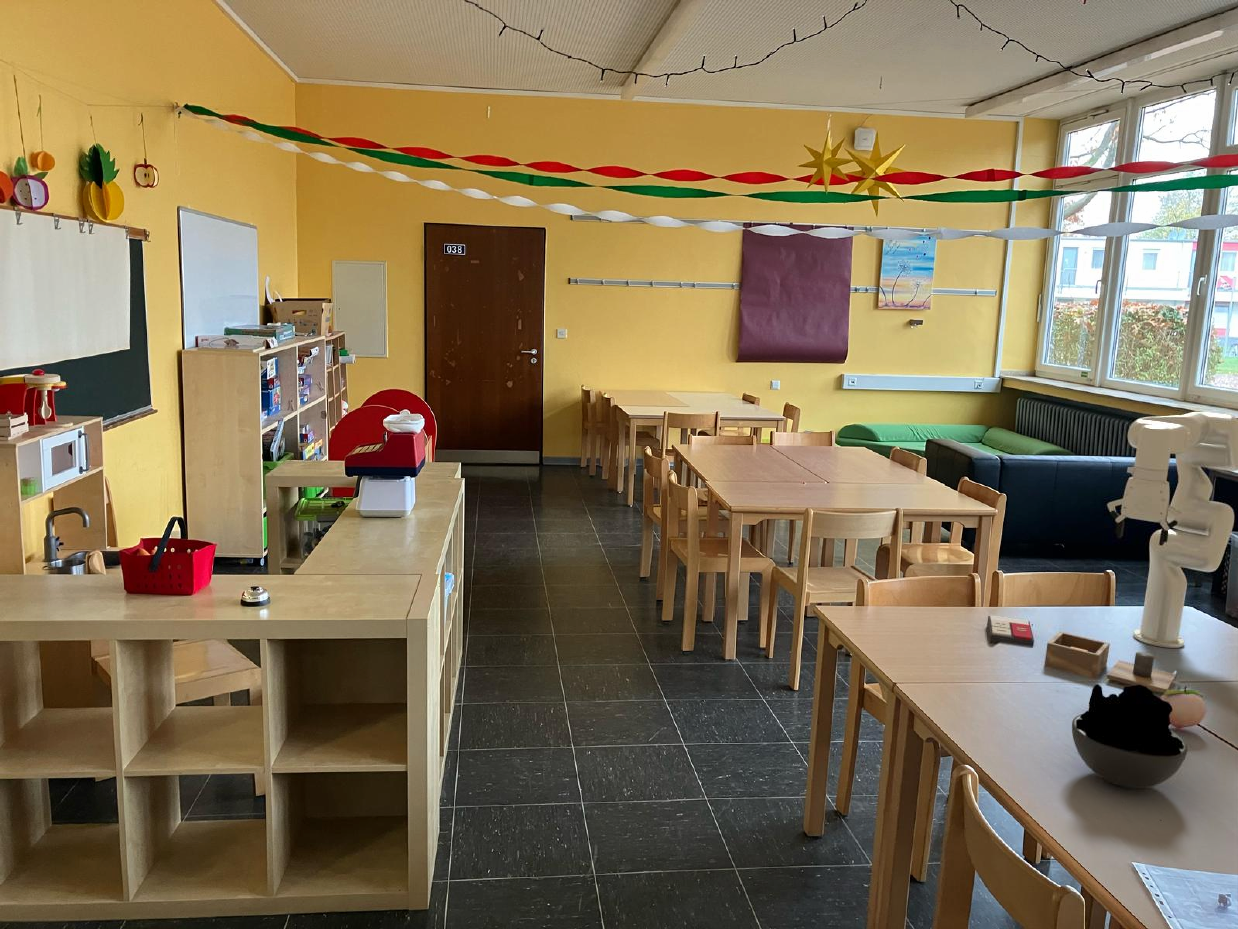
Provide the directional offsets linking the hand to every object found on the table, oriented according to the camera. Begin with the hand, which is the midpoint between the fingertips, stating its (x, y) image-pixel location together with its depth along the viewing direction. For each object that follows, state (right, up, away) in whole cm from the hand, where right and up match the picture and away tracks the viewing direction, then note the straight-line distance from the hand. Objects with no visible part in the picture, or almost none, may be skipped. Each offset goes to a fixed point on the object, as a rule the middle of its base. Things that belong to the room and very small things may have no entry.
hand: (1140, 540), depth 254 cm
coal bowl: (-35, -43, -59) cm, 81 cm away
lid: (-5, -34, -9) cm, 35 cm away
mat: (-5, -35, -9) cm, 36 cm away
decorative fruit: (-9, -39, -33) cm, 52 cm away
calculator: (-25, -29, +21) cm, 44 cm away
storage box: (-17, -33, 0) cm, 37 cm away
